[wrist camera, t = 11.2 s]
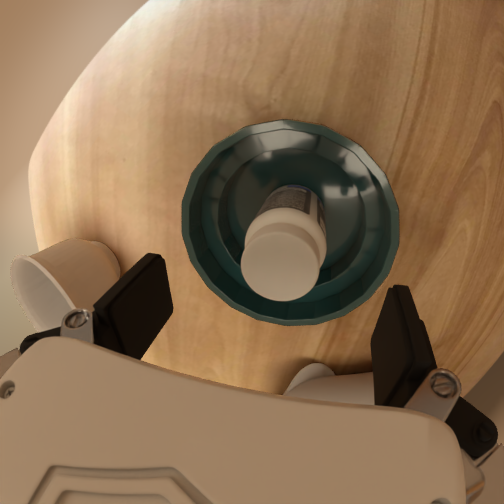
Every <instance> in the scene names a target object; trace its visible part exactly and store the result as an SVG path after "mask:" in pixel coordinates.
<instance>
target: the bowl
mask: <svg viewBox="0 0 504 504" xmlns="http://www.w3.org/2000/svg"><path fill="white" fill-rule="evenodd" d="M285 185H300V186H304V187H306V188H308V189H310V190H311V191H313V192H314V193H315V194H316V195H317V196H318V197H319V199H320V200H321V202H322V204H323V206H324V210H325V224H326V246H327V250H326V256H325V259H324V262H323V264H322V266H321V267H320V269H319V276H318V279H317V281H316V283H315V285H314V286H313V288H312V289H311V290H310V291H309V292H308V293H307V294H305V295H304V296H302V297H300V298H297V299H294V300H290V301H275V300H271V299H268V298H265V297H263V296H261V295H259V294H258V293H256V292H255V291H254V290H253V289H251V287H250V286H249V285H248V284H247V282H246V281H245V279H244V277H243V274H242V270H241V258H242V254H243V251H244V249H245V237H246V234H247V231H248V228H249V226H250V224H251V223H252V222H253V220H254V218H255V217H256V215H257V213H258V212H259V210H260V209H261V207H262V206H263V204H264V203H265V201H266V199H267V198H268V196H269V195H270V194H271V193H272V192H273V191H275V190H276V189H278V188H280V187H282V186H285ZM182 236H183V240H184V243H185V246H186V249H187V252H188V255H189V258H190V261H191V263H192V265H193V266H194V268H195V269H196V271H197V272H198V274H199V275H200V277H201V278H202V280H203V281H204V282H205V284H206V285H207V287H208V288H209V289H210V290H212V291H213V292H214V293H215V294H216V295H217V296H218V297H220V298H221V299H222V300H223V301H224V302H225V303H227V304H228V305H229V306H231V307H232V308H234V309H236V310H238V311H240V312H242V313H244V314H246V315H248V316H250V317H252V318H254V319H256V320H260V321H265V322H269V323H274V324H279V325H284V326H300V325H317V324H320V323H323V322H327V321H330V320H333V319H336V318H339V317H342V316H344V315H346V314H348V313H349V312H351V311H352V310H354V309H355V308H357V307H358V306H360V305H361V304H363V303H364V302H365V301H367V300H368V299H369V298H370V297H371V296H372V295H373V294H374V293H375V291H376V290H377V289H378V287H379V286H380V285H381V284H382V282H383V281H384V280H385V278H386V277H387V276H388V274H389V272H390V270H391V267H392V264H393V261H394V258H395V255H396V252H397V249H398V246H399V208H398V205H397V202H396V199H395V197H394V194H393V191H392V189H391V186H390V184H389V181H388V179H387V176H386V174H385V173H384V172H383V171H382V169H381V168H380V167H379V166H378V165H377V164H376V162H375V161H374V160H373V159H372V158H371V157H370V156H369V154H368V153H367V152H366V151H365V150H364V149H363V148H362V147H361V146H360V145H359V144H357V143H356V142H354V141H353V140H351V139H349V138H348V137H346V136H344V135H342V134H340V133H338V132H337V131H335V130H333V129H331V128H329V127H327V126H325V125H322V124H318V123H313V122H306V121H300V120H293V119H281V120H275V121H270V122H264V123H259V124H254V125H249V126H246V127H243V128H242V129H240V130H238V131H236V132H235V133H233V134H231V135H230V136H228V137H226V138H225V139H223V140H222V141H220V142H218V143H217V144H215V145H214V146H213V147H212V148H211V149H210V150H209V152H208V153H207V154H206V155H205V157H204V158H203V159H202V160H201V162H200V163H199V164H198V165H197V167H196V168H195V169H194V170H193V172H192V174H191V176H190V179H189V182H188V185H187V188H186V191H185V194H184V197H183V200H182Z"/></svg>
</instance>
